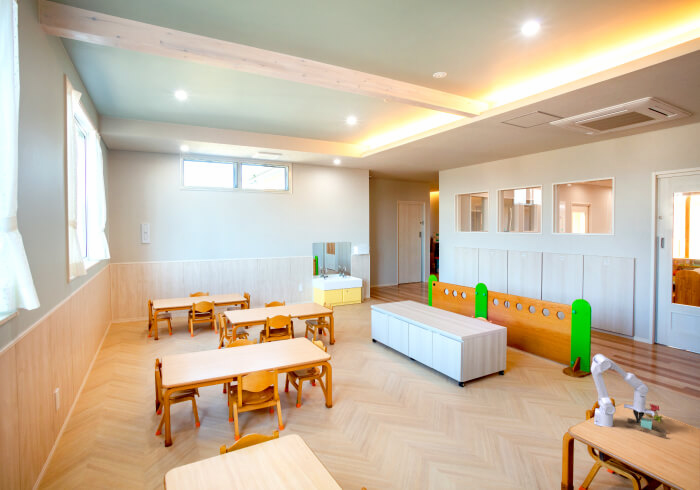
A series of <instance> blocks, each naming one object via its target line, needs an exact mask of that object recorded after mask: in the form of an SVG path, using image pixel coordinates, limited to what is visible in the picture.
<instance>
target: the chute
mask: <svg viewBox="0 0 700 490" xmlns="http://www.w3.org/2000/svg"><path fill="white" fill-rule="evenodd" d="M625 424H626V425H625V426H626V428H629V429H632V430H636V431H639V432H642V433H645V434H648V435H650V436H651V435H652V436H655V437H657V438H662V439H665V440H666V439H667V429H666V428H663V427H660V426H657V425H653V424H652V429H648V428H644V427H641V421H640V422H639V423H637V421H636V419H634V418H629V417H627V422H626V423H625Z"/></svg>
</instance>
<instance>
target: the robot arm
mask: <svg viewBox="0 0 700 490" xmlns="http://www.w3.org/2000/svg"><path fill="white" fill-rule="evenodd" d="M608 370H614V371H615V372H617V373H618V374H619V375H621V376H622V379H623V381H625V382H626V383H627V384H628V385H630V386H631V387H632V388H633V389H634V390H633V391H634V392H633V404H627V403H624V404H623V408H624V409H628V410H629V409H630V410H632V412H633V415H634V418H635V420H636V421H637V423H639V422H641V418H644V416H645V415H644V413H646V414H650V415H652V416H653V417H654V416H655V414H654V412H653V411H650V410H648V409H646V399H647V394H648V393H649V391H650V390H649V388H648V387H649V386H647V385H646V384H645V383H644V382H643V381H642V380H641V379H639V378H638V377H637V376H636V375H635V374H634V373H632V372H626V371H625V370H624V369H623V368H622V367H621V366H620V365H618V364H617V363H616V362H614V361H613V360H611V359H610V358H609V357H607V356H605V355H604V354H602V353H597V354H595V355H594V356H593V357H592V363H591V366H590V372H591V374H592V375H591V376H592V378H593V381H594V385H595V388H596V391H597V395H598V396H597V398H598V400H597V404H598V406H599V408H595V409H594V410H595V411H594V417H593V418H594V422H593V424H594V425H596V426H599V427H605V428H606V427H607V428H611V427H613V425H614V414H615V413H616V406H615V405H613V402H612V400H611V398H610V396H609V392H608V390H607V386H606V384H605V380H604V377H603V372H605V371H608Z"/></svg>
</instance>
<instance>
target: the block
mask: <svg viewBox="0 0 700 490" xmlns="http://www.w3.org/2000/svg"><path fill="white" fill-rule="evenodd" d="M640 422H641V427H644V428H648V429H652V425H653V420H651V419H648V418H647V417H642V418H641V420H640Z"/></svg>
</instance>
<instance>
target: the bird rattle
mask: <svg viewBox="0 0 700 490" xmlns="http://www.w3.org/2000/svg"><path fill="white" fill-rule="evenodd" d="M649 406H650V407H645V409H648V410H650V411H653V412H654V416H652V415H650V414H646V413H644V416H645V418H646V419H649V420H652V421H655V420H656V421H657V422H658V423H661V422H662V421H661V419H663V418H664V417H663V416H661V415H659V411H660V406H659V405H655V404H652V403H650V404H649Z"/></svg>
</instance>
